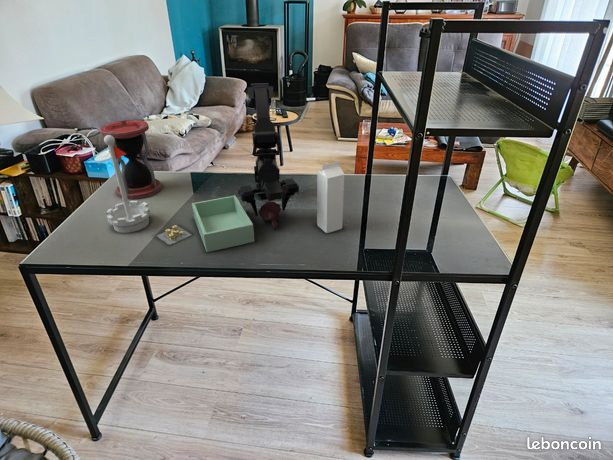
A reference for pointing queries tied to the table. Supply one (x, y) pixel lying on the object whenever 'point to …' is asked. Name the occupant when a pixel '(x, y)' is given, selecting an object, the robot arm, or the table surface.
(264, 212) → the icecream
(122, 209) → the flag stand
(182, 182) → the table surface
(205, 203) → the green open box
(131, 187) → the hourglass
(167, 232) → the dice set
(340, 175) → the milk
